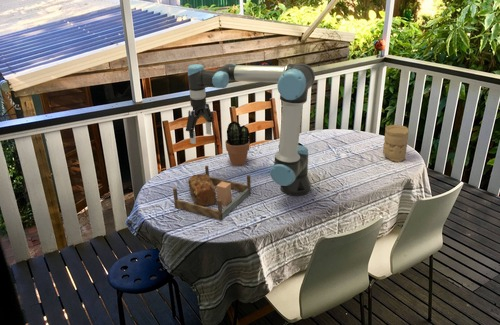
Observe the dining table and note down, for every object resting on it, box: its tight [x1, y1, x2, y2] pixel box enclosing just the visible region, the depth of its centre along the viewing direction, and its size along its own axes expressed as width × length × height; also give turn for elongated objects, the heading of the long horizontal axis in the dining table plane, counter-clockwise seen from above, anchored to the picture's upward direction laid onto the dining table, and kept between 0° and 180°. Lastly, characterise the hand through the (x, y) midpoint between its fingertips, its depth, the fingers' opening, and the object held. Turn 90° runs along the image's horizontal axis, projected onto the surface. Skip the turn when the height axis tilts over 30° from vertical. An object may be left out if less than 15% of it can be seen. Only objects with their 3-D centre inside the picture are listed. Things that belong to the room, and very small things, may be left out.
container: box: [382, 124, 410, 163], centre depth 255 cm, size 13×13×18 cm
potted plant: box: [225, 120, 250, 167], centre depth 253 cm, size 14×14×25 cm
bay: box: [172, 165, 252, 221], centre depth 217 cm, size 26×28×10 cm
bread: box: [187, 173, 217, 207], centre depth 221 cm, size 19×11×10 cm, turn 16°
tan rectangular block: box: [215, 181, 233, 207], centre depth 215 cm, size 5×5×10 cm
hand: (201, 138), depth 224 cm, fingers open, 13 cm apart
